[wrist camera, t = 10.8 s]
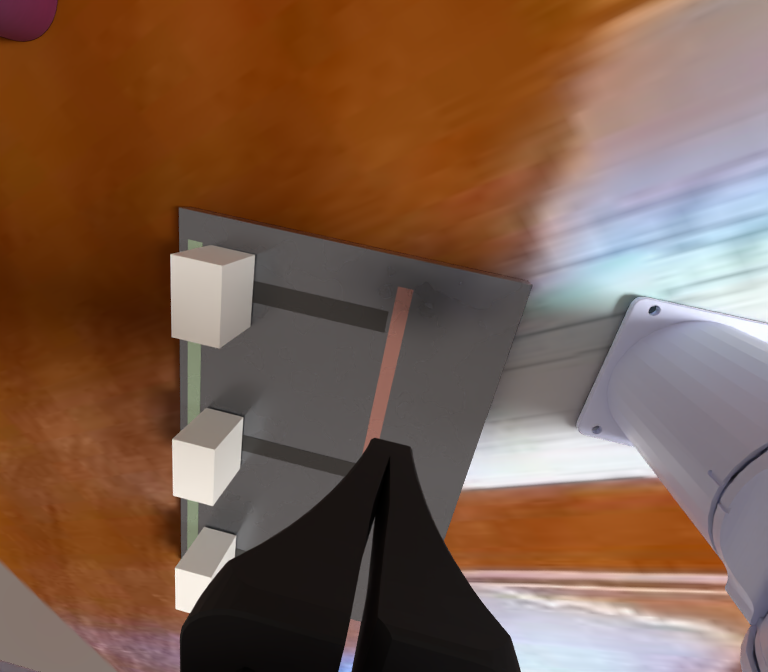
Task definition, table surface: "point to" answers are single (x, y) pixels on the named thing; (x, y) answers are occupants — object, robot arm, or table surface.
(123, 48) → the table surface
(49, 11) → the cup
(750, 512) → the robot arm
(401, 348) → the panel
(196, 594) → the block
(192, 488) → the breaker mid
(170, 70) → the table surface
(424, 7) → the table surface
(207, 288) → the breaker
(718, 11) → the table surface
